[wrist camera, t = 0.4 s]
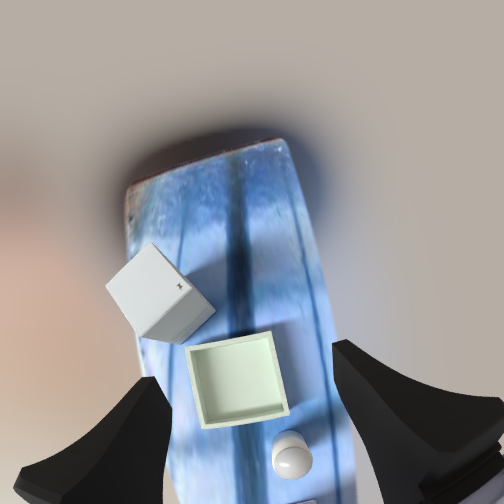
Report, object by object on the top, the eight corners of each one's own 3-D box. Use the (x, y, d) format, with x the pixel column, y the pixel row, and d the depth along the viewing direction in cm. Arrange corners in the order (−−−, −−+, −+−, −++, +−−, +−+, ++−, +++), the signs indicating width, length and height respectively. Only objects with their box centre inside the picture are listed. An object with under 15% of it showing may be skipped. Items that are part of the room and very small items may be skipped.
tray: (288, 410, 32) (290, 414, 29) (206, 424, 31) (201, 429, 29) (270, 332, 36) (271, 330, 33) (190, 348, 36) (184, 346, 33)
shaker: (307, 453, 29) (316, 475, 22) (275, 461, 29) (276, 484, 22) (301, 426, 31) (310, 443, 23) (268, 434, 31) (268, 452, 23)
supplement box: (184, 274, 40) (151, 238, 28) (217, 311, 37) (195, 288, 26) (147, 308, 38) (102, 284, 26) (179, 347, 36) (140, 339, 24)
